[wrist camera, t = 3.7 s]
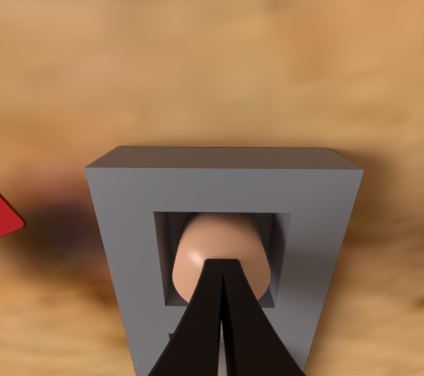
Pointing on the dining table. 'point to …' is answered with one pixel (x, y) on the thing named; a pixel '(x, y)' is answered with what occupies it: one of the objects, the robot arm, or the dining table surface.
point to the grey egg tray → (221, 202)
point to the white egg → (222, 361)
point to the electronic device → (9, 218)
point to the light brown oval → (220, 249)
